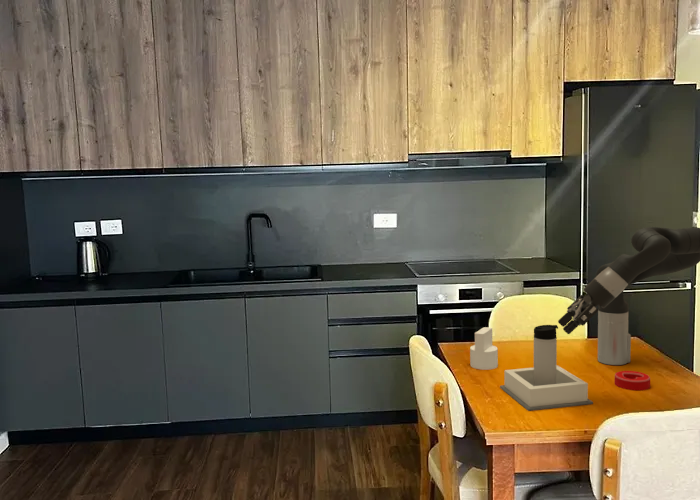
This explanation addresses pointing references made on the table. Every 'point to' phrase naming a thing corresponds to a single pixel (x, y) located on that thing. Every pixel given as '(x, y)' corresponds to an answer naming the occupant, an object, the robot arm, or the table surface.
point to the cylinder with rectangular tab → (484, 351)
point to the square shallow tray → (545, 389)
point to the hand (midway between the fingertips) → (562, 328)
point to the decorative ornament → (632, 380)
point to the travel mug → (545, 355)
